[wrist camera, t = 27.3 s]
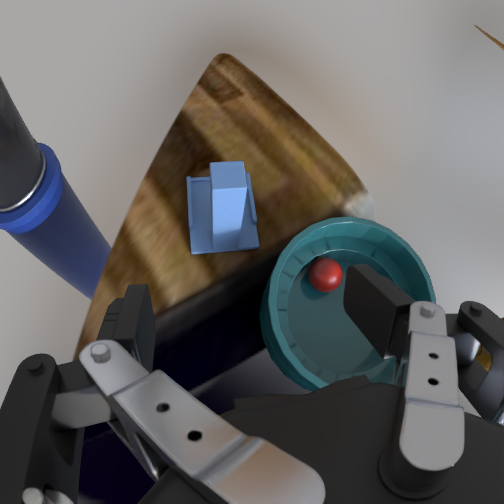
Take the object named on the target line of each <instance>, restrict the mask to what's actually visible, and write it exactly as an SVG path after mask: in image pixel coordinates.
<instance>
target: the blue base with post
mask: <svg viewBox="0 0 504 504" xmlns="http://www.w3.org/2000/svg"><path fill="white" fill-rule="evenodd" d="M187 197H188V217H189V229H190V244H191V254H192V255H193V254H204V253H216V252H227V251H239V250H250V249H259V240H258V234H257V227H256V222H257V216H256V210H255V204H254V198H253V192H252V185H251V179H250V173H249V172H247V173H246V174H245V169H244V163H243V161H230V162H214V163H210V177H197V178H191V177H190V176H188V177H187Z"/></svg>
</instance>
